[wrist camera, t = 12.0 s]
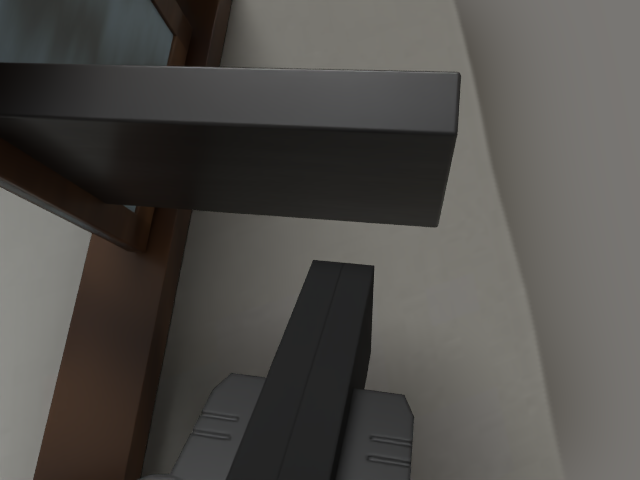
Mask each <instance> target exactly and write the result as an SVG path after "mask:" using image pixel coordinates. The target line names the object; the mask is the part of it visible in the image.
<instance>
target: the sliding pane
mask: <svg viewBox="0 0 640 480" xmlns="http://www.w3.org/2000/svg"><path fill="white" fill-rule="evenodd" d="M191 34H192V27H191V26H190V24H189V22H188V21H187V19H186V17H185V15H184V14H183V12H182V10H181V9H180V7H179V5H178V3H177V2H176V0H0V187H1V188H3V189H5V190H7V191H9V192H11V193H13V194H15V195H17V196H19V197H21V198H23V199H25V200H27V201H29V202H31V203H33V204H35V205H37V206H39V207H41V208H43V209H45V210H47V211H49V212H51V213H53V214H55V215H57V216H59V217H61V218H63V219H65V220H67V221H69V222H71V223H73V224H75V225H77V226H79V227H81V228H83V229H85V230H87V231H89V232H91V233H93V234H95V235H97V236H98V237H100V238H102V239H104V240H106V241H108V242H110V243H112V244H114V245H116V246H118V247H120V248H122V249H124V250H126V251H129V252H140V253H144V252H145V251H146V246H147V241H148V237H149V232H150V227H151V222H152V218H153V213H154V208H155V207H157V208H171V209H185V210H199V211H213V212H227V213H241V214H255V215H268V216H282V217H296V218H310V219H324V220H338V221H352V222H366V223H380V224H394V225H408V226H422V227H437V226H438V224H439V219H440V214H441V209H442V205H443V200H444V195H445V190H446V185H447V181H448V176H449V171H450V166H451V162H452V157H453V152H454V147H455V142H456V138H457V132H458V116H459V99H460V83H461V75H460V73H459V72H434V71H387V70H340V69H292V68H245V67H197V66H185V61H186V56H187V53H188V48H189V44H190V39H191Z"/></svg>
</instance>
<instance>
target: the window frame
mask: <svg viewBox="0 0 640 480" xmlns="http://www.w3.org/2000/svg"><path fill="white" fill-rule="evenodd" d="M176 2H177V3H178V5H179V7H180V9H181V10H182V12H183V14H184V15H185V17H186V19H187V21H188V22H189V24H190V26H191V27H192V34H191V39H190V44H189V48H188V53H187V56H186V61H185V66H197V67H219V66H220V60H221V55H222V50H223V45H224V40H225V34H226V29H227V24H228V19H229V13H230V8H231V3H232V0H176ZM191 212H192V210H185V209H171V208H157V207H155V208H154V213H153V218H152V222H151V227H150V232H149V237H148V241H147V246H146V251H145V252H144V253H140V252H129V251H126V250H124V249H122V248H120V247H118V246H116V245H114V244H112V243H110V242H108V241H106V240H104V239H102V238H100V237H98V236H97V235H95V234H93V233H92V236H91V240H90V244H89V248H88V252H87V257H86V261H85V265H84V269H83V273H82V277H81V282H80V286H79V290H78V294H77V298H76V303H75V307H74V311H73V315H72V319H71V323H70V328H69V332H68V336H67V340H66V344H65V349H64V353H63V357H62V361H61V365H60V370H59V374H58V378H57V382H56V386H55V390H54V395H53V399H52V403H51V407H50V411H49V416H48V420H47V424H46V428H45V432H44V436H43V441H42V445H41V449H40V453H39V457H38V462H37V466H36V470H35V474H34V478H33V480H136V479H139V478H140V477H141V472H142V467H143V462H144V457H145V451H146V446H147V441H148V436H149V430H150V425H151V420H152V415H153V410H154V404H155V399H156V394H157V389H158V384H159V378H160V373H161V368H162V363H163V357H164V352H165V347H166V342H167V337H168V331H169V326H170V321H171V316H172V311H173V305H174V300H175V295H176V290H177V285H178V279H179V274H180V269H181V264H182V258H183V253H184V248H185V243H186V238H187V232H188V227H189V222H190V217H191Z"/></svg>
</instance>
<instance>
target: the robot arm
mask: <svg viewBox="0 0 640 480" xmlns="http://www.w3.org/2000/svg"><path fill="white" fill-rule="evenodd" d="M373 284H374V266H372V265H361V264H351V263H340V262H329V261H318V260H313V262H312V264H311V267H310V269H309V272H308V274H307V277H306V279H305V282H304V284H303V287H302V289H301V292H300V294H299V297H298V299H297V302H296V304H295V307H294V309H293V312H292V314H291V317H290V319H289V322H288V325H287V327H286V330H285V332H284V335H283V337H282V340H281V342H280V345H279V347H278V350H277V352H276V355H275V357H274V360H273V362H272V365H271V367H270V370H269V372H268V375H267V377H266V378H265V377H257V376H250V375H242V374H235V373H231V374H230V375H229V376H228V377H226V378H225V379H224V380H223V381H222V382H221V383H220V384H219V385H218V386H216V387H215V388H214V389H213V390H212V392H211V394H210V396H209V398H208V400H207V402H206V404H205V406H204V408H203V410H202V414H201V416H199V418H198V420H197V422H196V424H195V426H194V428H193V432H192V434H190V436H189V438H188V440H187V442H186V444H185V445H184V447H183V449H182V451H181V453H180V455H179V457H178V459H177V461H176V463H175V465H174V467H173V469H172V471H171V473H170V474H151V475H148V476H145V477H142V478H139V479H136V480H410V473H411V457H412V441H413V424H414V416H413V414H412V411H411V409H410V407H409V404H408V402H407V400H406V398H405V395H402V394H394V393H387V392H379V391H372V390H365V389H364V388H365V382H366V377H367V371H368V365H369V359H370V354H371V333H372V308H373Z"/></svg>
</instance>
